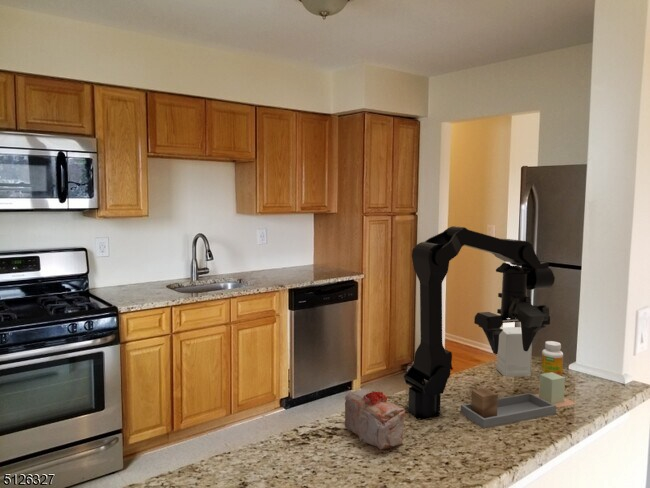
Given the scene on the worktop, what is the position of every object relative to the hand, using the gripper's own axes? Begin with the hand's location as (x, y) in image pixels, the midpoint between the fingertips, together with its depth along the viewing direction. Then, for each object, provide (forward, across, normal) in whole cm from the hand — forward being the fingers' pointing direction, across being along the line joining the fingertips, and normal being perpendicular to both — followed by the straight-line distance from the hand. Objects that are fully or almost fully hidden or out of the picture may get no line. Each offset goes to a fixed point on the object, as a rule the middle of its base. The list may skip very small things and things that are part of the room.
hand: (510, 352), depth 125 cm
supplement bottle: (+11, +21, +7) cm, 24 cm away
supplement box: (+11, +12, +13) cm, 21 cm away
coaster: (+11, +8, -6) cm, 15 cm away
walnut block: (+11, -14, -9) cm, 20 cm away
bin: (+12, -7, -9) cm, 16 cm away
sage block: (+11, +8, -6) cm, 15 cm away
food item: (+13, -41, -8) cm, 44 cm away
